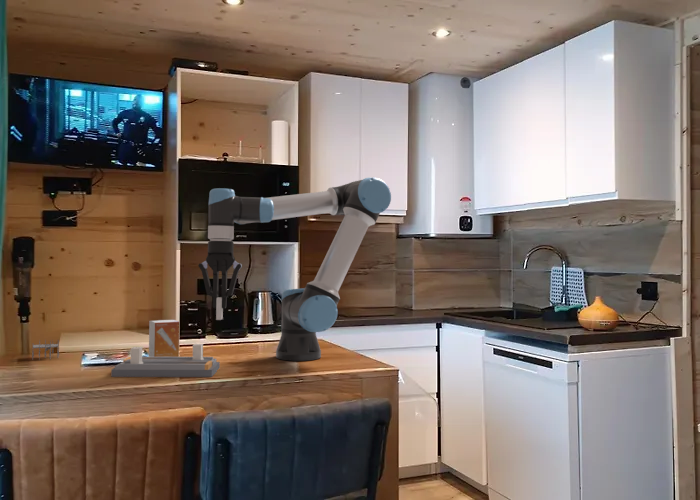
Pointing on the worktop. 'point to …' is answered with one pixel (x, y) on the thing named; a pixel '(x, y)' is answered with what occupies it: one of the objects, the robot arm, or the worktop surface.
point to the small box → (164, 338)
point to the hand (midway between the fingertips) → (219, 319)
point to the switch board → (167, 367)
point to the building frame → (46, 348)
